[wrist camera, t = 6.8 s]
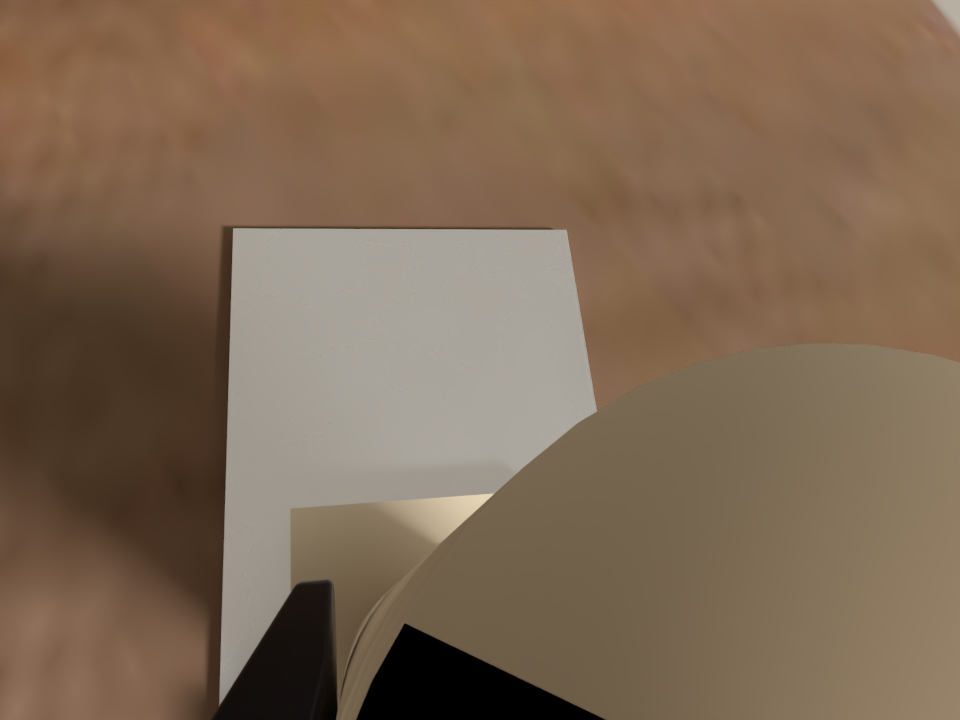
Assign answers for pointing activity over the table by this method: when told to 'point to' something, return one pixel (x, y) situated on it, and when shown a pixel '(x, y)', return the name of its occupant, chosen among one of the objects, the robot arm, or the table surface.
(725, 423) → the beige peg stand
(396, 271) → the grey rectangular plate
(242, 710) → the robot arm
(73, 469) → the table surface
